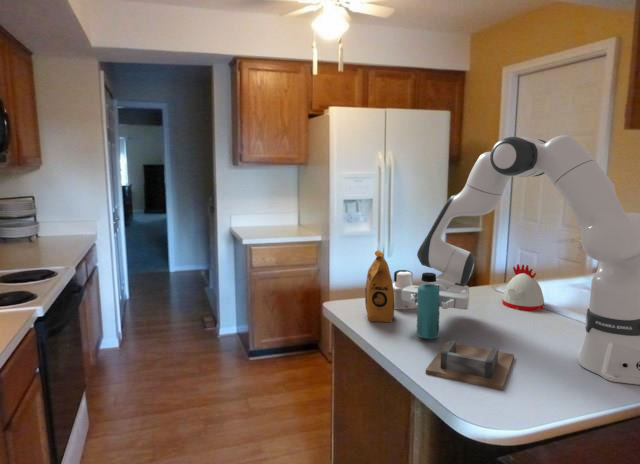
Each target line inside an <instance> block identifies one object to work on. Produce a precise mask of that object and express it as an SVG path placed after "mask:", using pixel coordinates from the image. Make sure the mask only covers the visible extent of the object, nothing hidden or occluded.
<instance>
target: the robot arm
mask: <svg viewBox="0 0 640 464" xmlns="http://www.w3.org/2000/svg"><path fill="white" fill-rule="evenodd" d="M542 175H543V176H544V175H546V176H547V177H548V178H549V180H550V181H551V183H552V185H554V187H555V189H556V190H557V191H558V193H559V195H561V197H562V198H563V200H564V202H565V203H566V204H567V205H568V208H569V209H570V210H571V212H572V214H573V216H574V219H575V221H576V224H577V226H578V229H579V231H580V234H581V237H580V242H581V243H580V244H581V246H582V249H583V251H584V253H585V254H586V255H587V256H588V257H590V258H591V259H593V260H595V261H597V262H598V261H599V263H598V267H597V268H596V271H595V273H594V275H593V277H592V279H591V284H590V285H591V286H590V296H589V308H587V310H586V314H585V323H584V324H585V325H584V326H585V331H586V332H585V337H584V341H583V345H582V347H581V350H580V353H579V356H578V357H577V362H578V364H579V365H580V366H581V367H583V368H584V369H586V370H588V371H589V372H592V373H594V374H597V375H599V376H600V377H602V378H604V379H605V380H606V381H609V382H614V383H623V384H630V385H638V386H639V385H640V213H638V212H626V211H625V210H624V208H623V207H622V204H621V203H620V200H619V198H618V196H617V193H616V186H615V184H614V183H613V181H612V180H611V179H610V177H609V176H608V175H607V174H606V173H605V171H604V169H602V167H601V166H600V165H599V162H597V161H596V159H595V158H594V157H593V156H592V155H591V154H590V153H589V151H588V150H587V149H586V148H585V147H584V146H583V145H582V144H581V143H579V142H578V141H577V140H576V139H574V137H572V136H570V135H565V134H563V135H558V136H557V135H556V136H555V137H553V138H551V139H549V140H547V141H545V140H543V139H536V138H531V137H527V136H509V137H505V138H502V139H500V140H499V141H497V142H496V143H495V144H494V145H493V147H492V148H491V151H486V152H483V153H482V154H480V155H479V157H478V158H477V160H476V162H474V165H473V166H472V168H471V170H470V172H469V175H468V177H467V180H466V183H465V185H464V187H463V188H462V190H461V191H460V192H458V193H456V194H453V195H451V196H450V197H449V198H448V199H447V201H446V202H445V204H444V205H443V207H442V209H441V210H440V212H439V214H438V215H437V217H436V219H435V221H434V223H433V224H432V226H431V228H430V229H429V231H428V233H427V235H426V237H425V238H424V240H423V241H422V242H421V243H420V245H419V247H418V250H417V253H416V256H417V259H418V261H419V262H420V264H421V266H423V267H427V268H429V269H433V270H435V271H439V272H440V274H439V275H437V276H436V281H435V282H429V283H432V284H435V285H437V286H438V287H439V289H440V291H439V308H441V309H444V310H448V309H450V308H451V309H459V310H468V309H469V307H470V289H469V285H467V284H468V282H469V281H470V279H471V278H472V276H473V274H474V270H475V268H476V260H475V257H474V254H473V253H472V252H471V251H468V250H466V249H463V248H461V247H459V246H455V245H453V244H451V243H448V242H446V241H444V240H443V239H442V236H443V235H444V234H445V232H446V229H447V228H448V226H449V225H450V222H451V221H452V220H453V219H454V218H458V217H478V216H485V215H487V214H489V213H491V212H494V210H495V209H496V208H497V206H498V204H499V203H500V200H501V199H502V196H503V193H504V191H505V188H506V185H507V183H508V182H509V180H510V179H511V178H513V177H519V178H530V177H539V176H542ZM419 286H420V285H413V284H412V285H411V286H408V287H405V288H403V289H402V293H401V298H402V300H403V301H408V302H410V304H416V305H417V304H418V287H419Z"/></svg>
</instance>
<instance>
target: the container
mask: <svg viewBox="0 0 640 464" xmlns="http://www.w3.org/2000/svg"><path fill="white" fill-rule="evenodd" d="M413 276H414V274H413V272H412V271H410V270H407V269H398V270H396V271H394V273H393V282H392V284H393V290H394V310H415V309H416V308H417V303H416V304H410V302H408V301H403V300H402V298H401V293H402V289H403V288H405V287H408V286H411V285H413Z"/></svg>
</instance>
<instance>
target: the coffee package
mask: <svg viewBox="0 0 640 464" xmlns="http://www.w3.org/2000/svg"><path fill="white" fill-rule="evenodd" d="M374 255H375V257H376V258H375V259H374V261H373V262H372V263H371V265H370V267H369V268H368V270H367V275H366V281H365V289H364V299H365V300H364V301H365V310H366V315H367V318H368V320H369V321H370V322H372V323H373V322H376V323H380V322H381V323H392V322H393V319H394V314H395V308H394V290H393V284H392V283H393V280H392V276H391V272H390V268H389V265H388V262H387V261H386V259H385V258H384V255H385V254H384V253H383V252H382V251H381V250H380V249H376V250H375V251H374Z"/></svg>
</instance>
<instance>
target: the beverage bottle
mask: <svg viewBox="0 0 640 464" xmlns="http://www.w3.org/2000/svg"><path fill="white" fill-rule="evenodd" d="M436 275H437V274H436V273H434V272H423V273H422V274H421V281H422V282H425V283H422V284H420V285H418V286H419V287H418V303H417V305H416V308H417V309H416V311H417V312H416V315H417V316H416V334H417V336H419V337H421V338H424V339H436V338H438V337H439V334H440V317H441V316H440V307H439V291H440V289H439V287H438V286H437V285H435V284H432V283H430V282H435V281H436V277H437V276H436Z"/></svg>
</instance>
